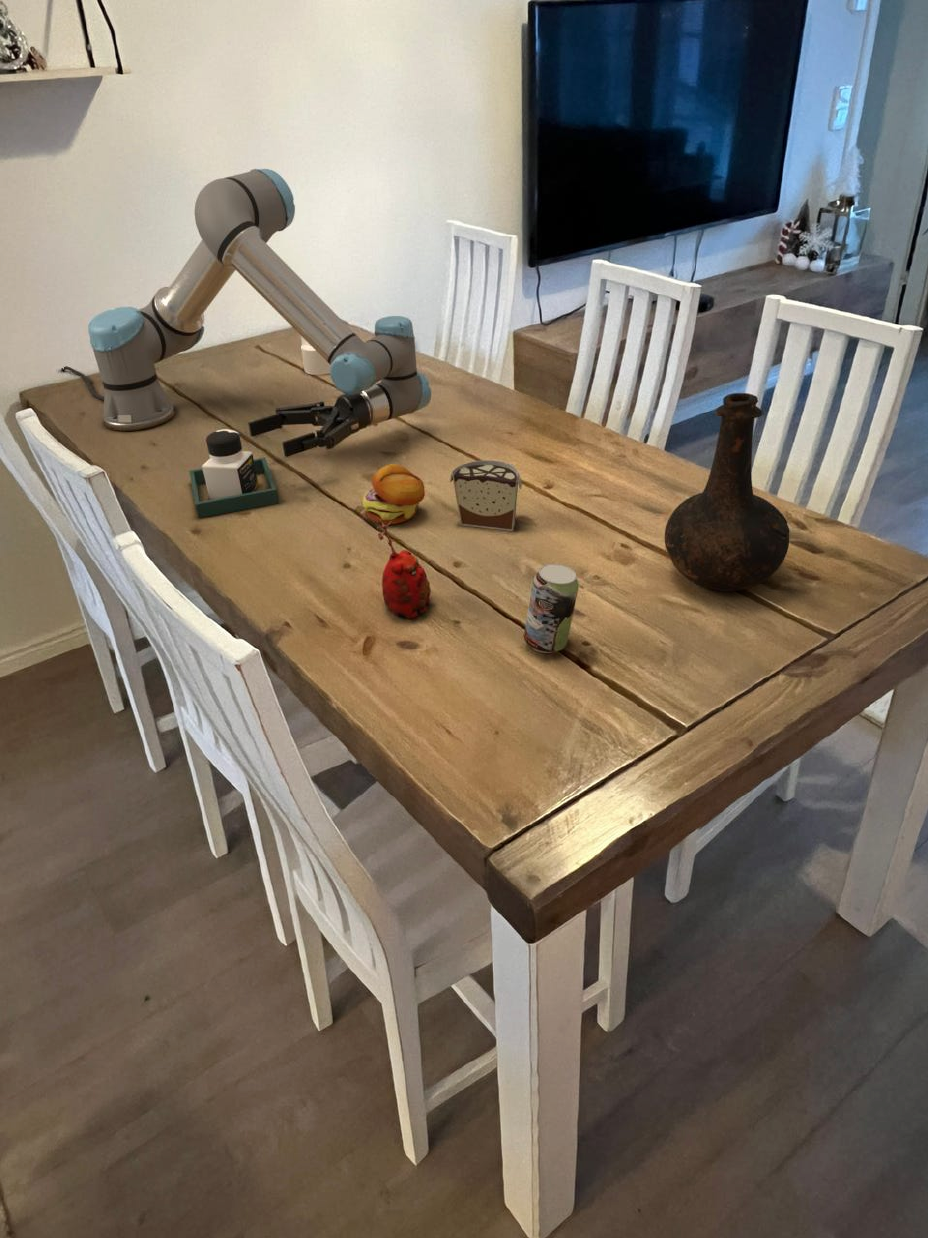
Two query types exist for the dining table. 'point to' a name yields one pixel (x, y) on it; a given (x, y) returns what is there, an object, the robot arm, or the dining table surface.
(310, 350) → the base with upright slab
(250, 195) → the robot arm
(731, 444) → the glass bottle
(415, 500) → the cheeseburger
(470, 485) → the cream brown domed block
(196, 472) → the tray
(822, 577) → the dining table surface
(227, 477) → the medicine bottle
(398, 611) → the red clay folk toy
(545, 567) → the beverage can
